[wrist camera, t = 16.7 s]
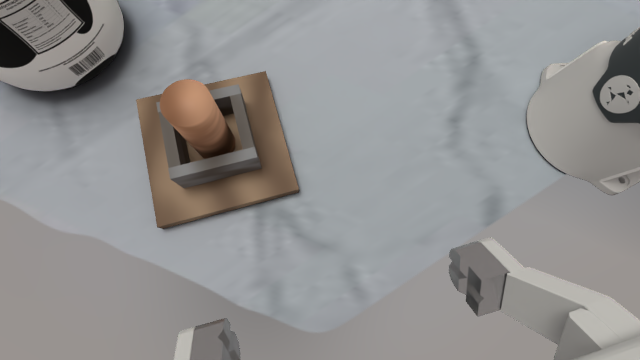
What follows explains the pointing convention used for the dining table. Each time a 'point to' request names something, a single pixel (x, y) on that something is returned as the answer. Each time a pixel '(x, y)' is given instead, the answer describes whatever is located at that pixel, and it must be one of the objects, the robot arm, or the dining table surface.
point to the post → (197, 118)
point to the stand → (220, 171)
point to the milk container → (57, 41)
